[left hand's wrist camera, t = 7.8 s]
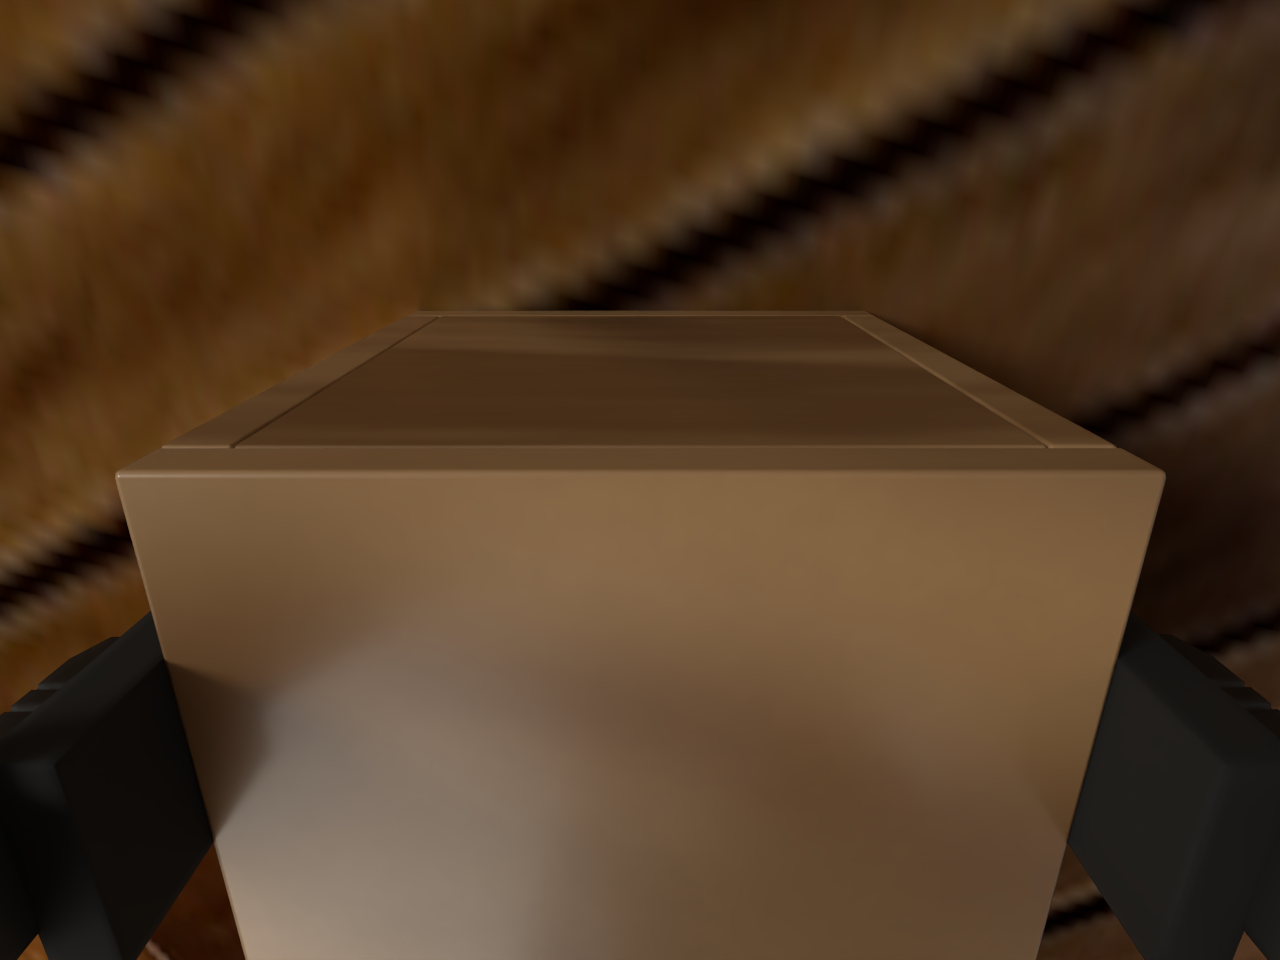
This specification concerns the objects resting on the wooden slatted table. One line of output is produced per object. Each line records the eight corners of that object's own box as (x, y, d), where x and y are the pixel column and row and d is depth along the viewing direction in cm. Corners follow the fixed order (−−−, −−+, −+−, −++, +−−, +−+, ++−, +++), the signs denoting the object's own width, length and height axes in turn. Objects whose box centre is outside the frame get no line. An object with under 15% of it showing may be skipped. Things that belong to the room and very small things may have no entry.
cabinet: (802, 915, 25) (914, 1418, 15) (479, 914, 25) (367, 1416, 15) (867, 310, 18) (1172, 471, 7) (414, 310, 18) (109, 471, 7)
